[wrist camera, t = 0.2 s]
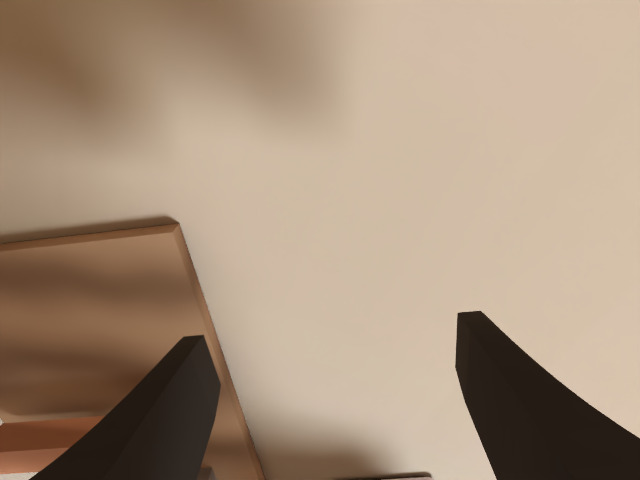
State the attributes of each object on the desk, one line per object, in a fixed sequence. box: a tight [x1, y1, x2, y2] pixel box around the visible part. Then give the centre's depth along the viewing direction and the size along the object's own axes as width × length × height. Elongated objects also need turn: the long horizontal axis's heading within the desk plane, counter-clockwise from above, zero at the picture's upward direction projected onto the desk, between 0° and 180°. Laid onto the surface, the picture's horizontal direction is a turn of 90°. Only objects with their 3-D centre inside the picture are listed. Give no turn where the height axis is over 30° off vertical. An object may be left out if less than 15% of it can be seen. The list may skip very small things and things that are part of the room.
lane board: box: [0, 224, 265, 480], centre depth 27 cm, size 32×16×4 cm, turn 8°
